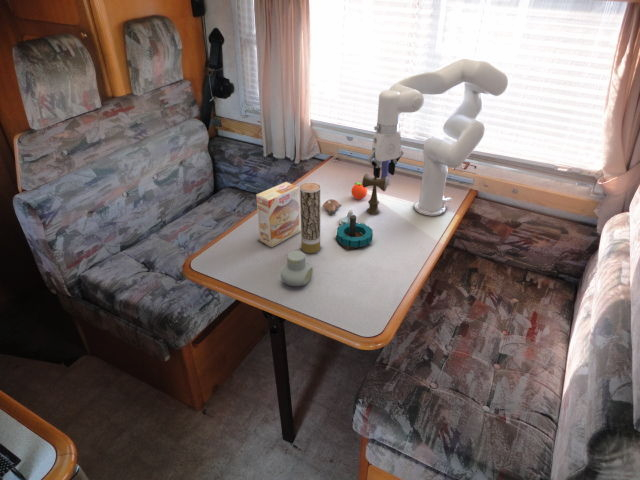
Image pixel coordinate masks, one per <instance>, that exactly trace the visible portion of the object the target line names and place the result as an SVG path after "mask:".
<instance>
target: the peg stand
mask: <svg viewBox="0 0 640 480" xmlns="http://www.w3.org/2000/svg"><path fill="white" fill-rule="evenodd" d="M354 215H355V214H353V215H352V216H350V225H349V232H348V233H346V235H347V236H350V237H361V236H363V234H362V233H359V232H356V223H357V219H356V217H357V215H355V216H354ZM335 239H336V240H337V234H336V235H335ZM340 245H342V246H343V248H345V249H346V251H350V250H354V249H356V248H360V247H359V246H358V247H350V246H346V245H343V244H342V243H340ZM368 245H369V244H367V245H366V246H368Z"/></svg>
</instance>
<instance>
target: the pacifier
mask: <svg viewBox="0 0 640 480" xmlns="http://www.w3.org/2000/svg"><path fill="white" fill-rule="evenodd" d="M352 215H354V216H356V215H355V214H354V211H353V209H350V210H348V212H347V214H346V215H345V216H344V217H343V218H341V219H340V220H339V222H338V224H339V225H340V226H341V225H343V224H346V223H350V216H352ZM357 218H358V217H357V216H356V220H357Z"/></svg>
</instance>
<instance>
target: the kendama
mask: <svg viewBox="0 0 640 480" xmlns="http://www.w3.org/2000/svg"><path fill="white" fill-rule="evenodd" d="M388 178H389V176H388V177H387V176H386V177H384V178H381V177H380V178H376V177H375V176H374V175H373V177H372V176H370V175H369V174H367V173H365V174H364V175H363V178H362V183H361V184H362V185H363V187H364V188H365V187H366V188H368V187H372V191H371V197H370V199H369V200H367V203H368V204H369V205H368V206H369V207H368V208H367V209H366V212H367V213H368V214H370V215H377V214H379V213H380V208H379V204H380V201H379V200H378V191H377V188H379V189H380V190H381V192H386V191H387V189H388V184H389V182H388Z"/></svg>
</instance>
